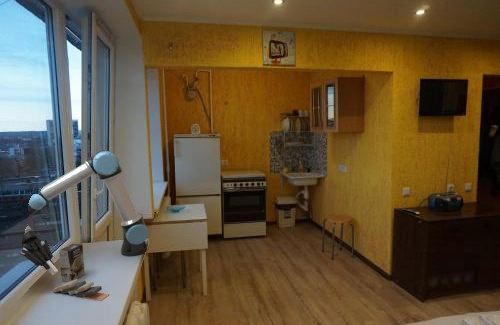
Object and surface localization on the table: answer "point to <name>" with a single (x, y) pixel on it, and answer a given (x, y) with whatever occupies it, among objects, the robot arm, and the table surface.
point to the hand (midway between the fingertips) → (55, 273)
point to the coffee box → (71, 262)
